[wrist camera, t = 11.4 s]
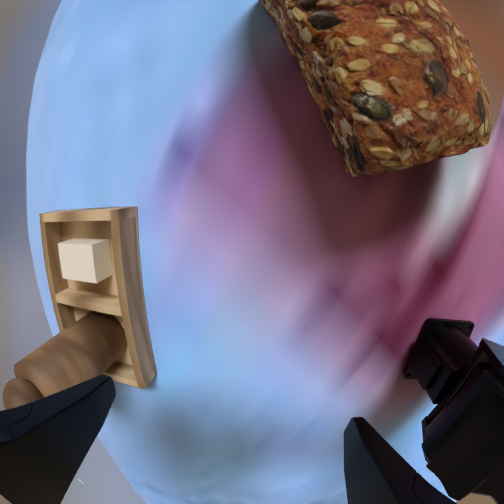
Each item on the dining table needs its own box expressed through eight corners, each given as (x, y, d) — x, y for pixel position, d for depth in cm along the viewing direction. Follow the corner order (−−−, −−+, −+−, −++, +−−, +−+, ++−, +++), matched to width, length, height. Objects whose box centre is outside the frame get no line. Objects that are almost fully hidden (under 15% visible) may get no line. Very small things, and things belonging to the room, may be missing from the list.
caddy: (137, 206, 21) (118, 209, 18) (156, 373, 24) (145, 389, 22) (58, 210, 22) (39, 213, 19) (84, 353, 25) (71, 365, 23)
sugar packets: (108, 239, 21) (91, 244, 19) (112, 274, 22) (96, 283, 19) (74, 238, 21) (57, 243, 19) (78, 270, 22) (62, 278, 20)
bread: (249, -3, 15) (227, -78, 6) (355, -20, 13) (374, -85, 4) (337, 183, 19) (386, 179, 9) (448, 151, 17) (532, 139, 7)
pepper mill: (134, 332, 23) (34, 431, 9) (119, 363, 24) (37, 452, 10) (94, 298, 23) (-17, 371, 9) (83, 332, 24) (-8, 403, 10)
